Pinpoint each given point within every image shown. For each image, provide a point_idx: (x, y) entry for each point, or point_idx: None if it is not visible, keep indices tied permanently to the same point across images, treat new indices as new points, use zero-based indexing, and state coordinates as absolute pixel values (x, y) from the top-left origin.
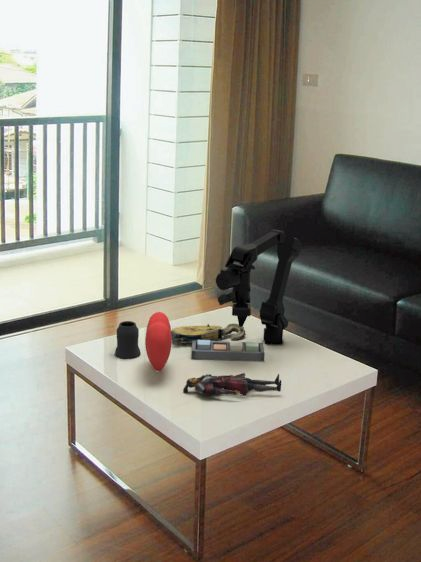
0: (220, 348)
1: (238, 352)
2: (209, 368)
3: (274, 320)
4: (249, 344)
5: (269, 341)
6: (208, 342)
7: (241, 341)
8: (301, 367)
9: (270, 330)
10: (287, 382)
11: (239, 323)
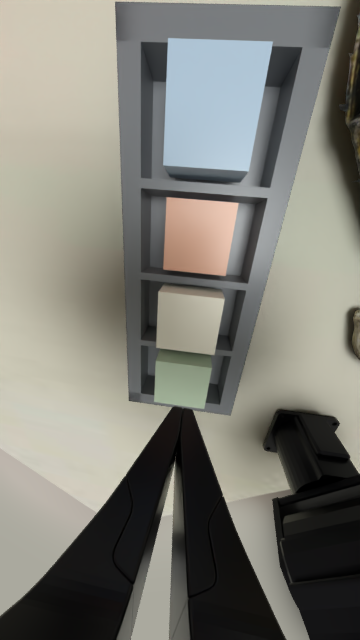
0: (174, 240)
1: (128, 319)
2: (42, 175)
3: (282, 552)
4: (174, 375)
5: (284, 426)
6: (205, 152)
7: (210, 351)
8: (111, 444)
9: (301, 470)
10: (17, 402)
11: (158, 431)
